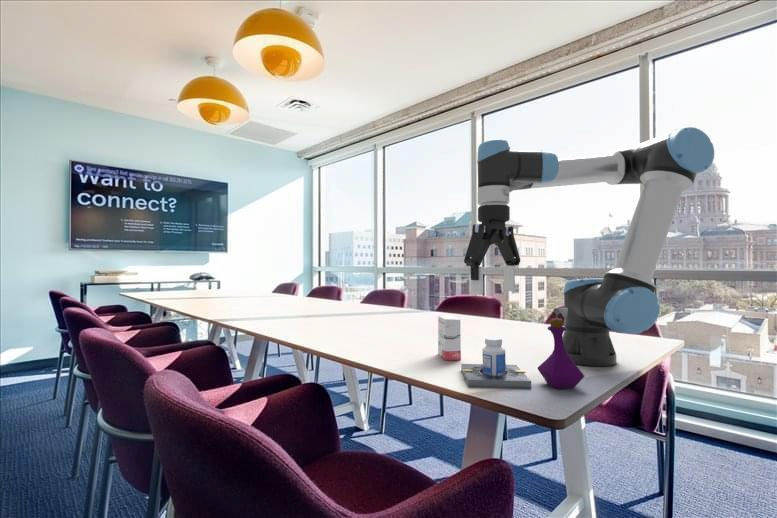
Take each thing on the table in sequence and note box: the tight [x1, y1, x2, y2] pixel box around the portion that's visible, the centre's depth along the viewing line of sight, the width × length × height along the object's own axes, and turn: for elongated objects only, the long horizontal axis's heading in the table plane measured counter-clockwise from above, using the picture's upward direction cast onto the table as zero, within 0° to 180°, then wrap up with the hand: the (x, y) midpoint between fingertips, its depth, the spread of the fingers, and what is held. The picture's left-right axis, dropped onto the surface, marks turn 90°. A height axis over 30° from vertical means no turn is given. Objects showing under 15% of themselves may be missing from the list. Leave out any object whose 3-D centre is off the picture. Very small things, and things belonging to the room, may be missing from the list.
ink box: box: [437, 315, 462, 361], centre depth 120 cm, size 9×5×12 cm, turn 7°
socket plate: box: [461, 363, 532, 389], centre depth 99 cm, size 15×14×2 cm
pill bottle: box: [481, 336, 507, 376], centre depth 99 cm, size 6×5×10 cm
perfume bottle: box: [537, 307, 585, 390], centre depth 93 cm, size 8×8×18 cm
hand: (493, 292), depth 99 cm, fingers open, 13 cm apart
